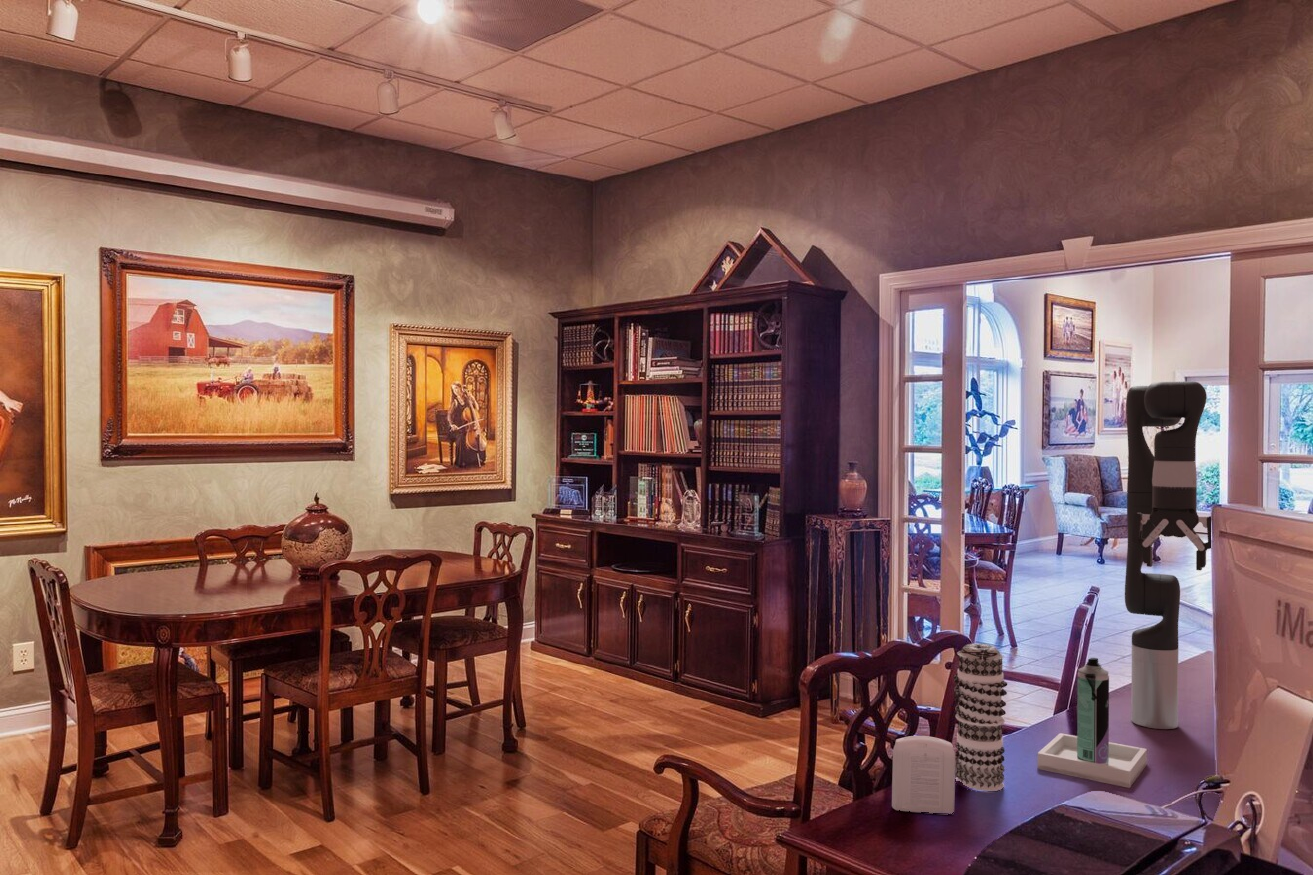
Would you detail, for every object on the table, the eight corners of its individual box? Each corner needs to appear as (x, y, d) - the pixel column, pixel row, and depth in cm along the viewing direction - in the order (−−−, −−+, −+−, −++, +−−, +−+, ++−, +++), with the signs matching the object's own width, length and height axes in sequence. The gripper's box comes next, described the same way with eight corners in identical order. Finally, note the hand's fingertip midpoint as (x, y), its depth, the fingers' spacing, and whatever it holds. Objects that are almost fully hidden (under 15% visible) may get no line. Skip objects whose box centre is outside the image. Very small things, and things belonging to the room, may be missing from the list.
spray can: (1112, 768, 179) (1112, 662, 179) (1081, 766, 180) (1081, 660, 180) (1104, 758, 184) (1104, 655, 184) (1074, 756, 185) (1074, 654, 185)
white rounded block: (952, 807, 161) (953, 734, 161) (956, 817, 157) (957, 742, 157) (890, 803, 163) (891, 731, 163) (893, 812, 159) (893, 738, 159)
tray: (1060, 747, 193) (1060, 733, 193) (1146, 764, 184) (1147, 748, 184) (1037, 768, 181) (1037, 752, 181) (1129, 787, 171) (1129, 771, 171)
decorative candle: (980, 796, 166) (981, 653, 166) (942, 779, 174) (943, 643, 175) (1017, 788, 170) (1018, 649, 171) (978, 771, 179) (979, 639, 179)
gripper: (1219, 485, 183) (1218, 569, 183) (1137, 482, 191) (1137, 563, 191) (1213, 486, 177) (1213, 573, 177) (1130, 483, 185) (1129, 566, 185)
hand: (1173, 568), depth 184 cm, fingers open, 8 cm apart
